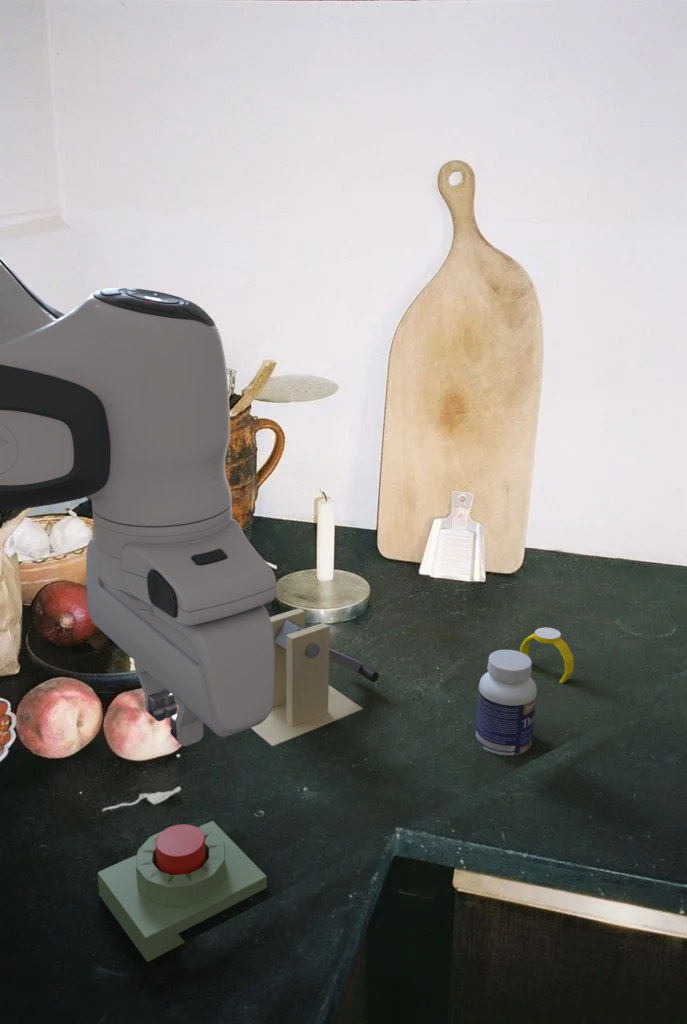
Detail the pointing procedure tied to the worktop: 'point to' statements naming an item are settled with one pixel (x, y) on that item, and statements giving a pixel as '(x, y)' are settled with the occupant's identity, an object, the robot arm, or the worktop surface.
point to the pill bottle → (506, 704)
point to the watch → (554, 638)
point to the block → (176, 891)
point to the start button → (180, 849)
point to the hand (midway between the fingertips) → (174, 726)
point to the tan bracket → (302, 683)
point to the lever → (330, 653)
